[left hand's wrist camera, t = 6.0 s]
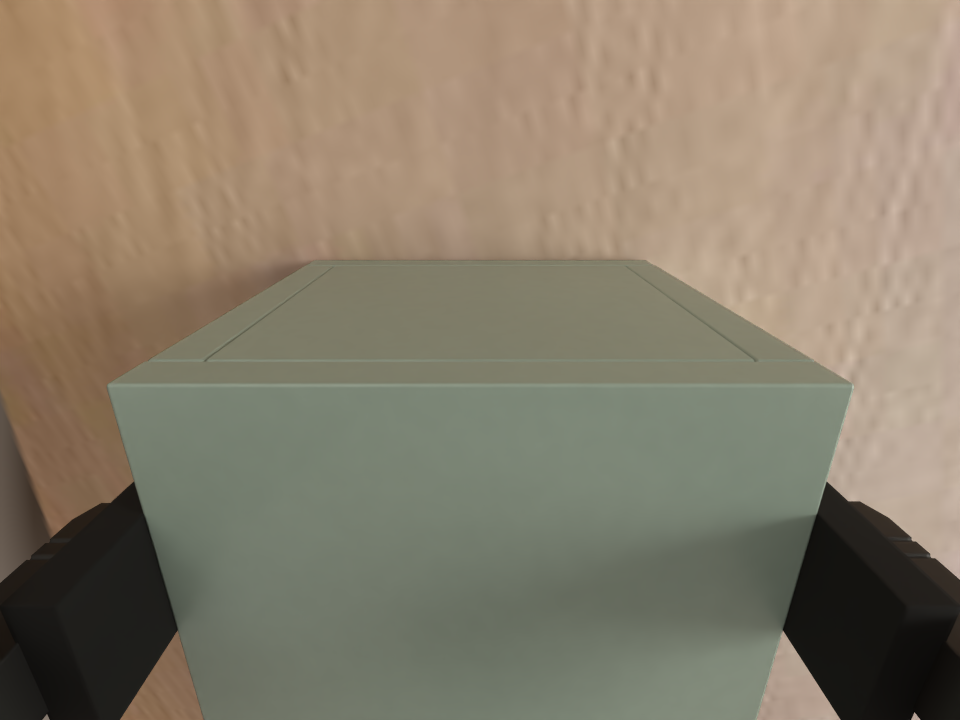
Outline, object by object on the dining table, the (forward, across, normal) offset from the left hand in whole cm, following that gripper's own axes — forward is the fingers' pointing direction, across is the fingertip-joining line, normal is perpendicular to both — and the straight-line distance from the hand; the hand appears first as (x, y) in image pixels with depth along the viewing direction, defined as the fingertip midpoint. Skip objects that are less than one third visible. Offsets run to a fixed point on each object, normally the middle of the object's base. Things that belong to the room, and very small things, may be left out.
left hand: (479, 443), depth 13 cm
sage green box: (+6, 0, -5) cm, 7 cm away
